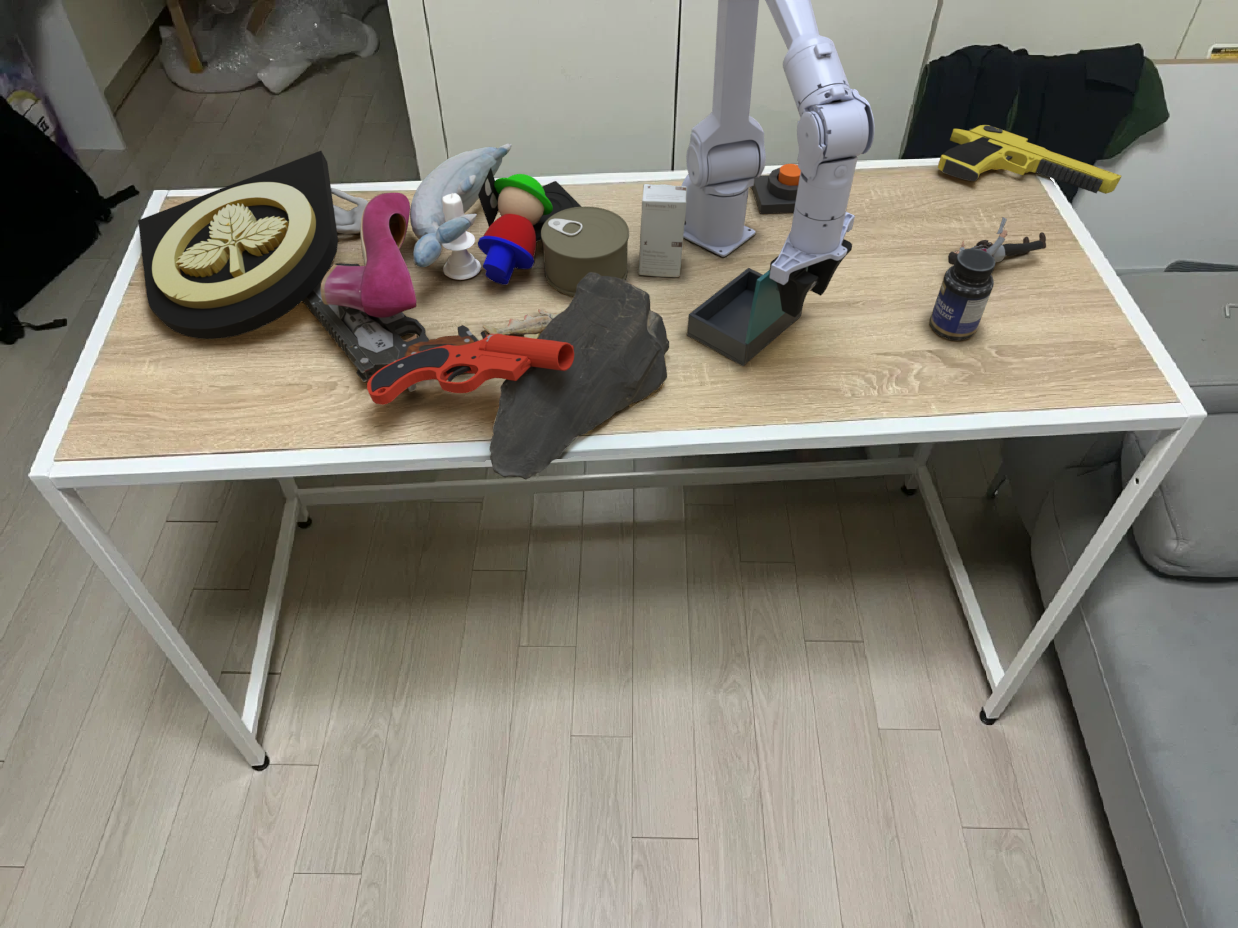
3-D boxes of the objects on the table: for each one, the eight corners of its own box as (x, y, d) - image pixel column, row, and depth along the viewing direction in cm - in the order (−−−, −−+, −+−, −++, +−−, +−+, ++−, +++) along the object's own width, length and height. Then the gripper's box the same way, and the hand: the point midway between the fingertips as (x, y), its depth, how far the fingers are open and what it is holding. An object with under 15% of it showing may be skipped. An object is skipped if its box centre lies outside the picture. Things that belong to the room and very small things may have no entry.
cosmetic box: (638, 276, 131) (639, 201, 122) (639, 257, 134) (641, 182, 125) (681, 278, 131) (686, 203, 122) (682, 259, 134) (687, 184, 125)
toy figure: (464, 276, 132) (501, 184, 135) (527, 297, 132) (563, 204, 135) (455, 249, 123) (495, 151, 126) (522, 271, 123) (560, 173, 126)
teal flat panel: (756, 279, 109) (782, 293, 107) (819, 229, 115) (844, 242, 114) (744, 342, 116) (768, 356, 115) (804, 292, 123) (827, 305, 121)
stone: (568, 286, 122) (431, 450, 108) (611, 247, 112) (465, 423, 98) (655, 368, 126) (533, 537, 112) (705, 338, 115) (576, 520, 101)
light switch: (496, 206, 136) (555, 179, 139) (501, 228, 140) (559, 202, 142) (528, 241, 131) (589, 213, 133) (533, 264, 134) (592, 236, 137)
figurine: (263, 247, 140) (392, 254, 139) (245, 235, 135) (380, 243, 133) (269, 183, 141) (398, 190, 139) (252, 169, 135) (386, 176, 134)
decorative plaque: (131, 354, 117) (128, 206, 134) (152, 374, 121) (146, 228, 137) (343, 274, 118) (313, 137, 134) (357, 297, 121) (327, 161, 138)
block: (760, 214, 142) (762, 194, 139) (750, 185, 147) (753, 165, 144) (825, 211, 142) (828, 190, 139) (813, 182, 147) (817, 162, 145)
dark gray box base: (686, 335, 123) (688, 314, 120) (745, 288, 130) (748, 267, 127) (743, 366, 119) (746, 345, 116) (801, 316, 126) (805, 295, 123)
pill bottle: (920, 317, 125) (941, 249, 117) (960, 308, 127) (984, 240, 118) (944, 346, 122) (967, 277, 113) (985, 337, 123) (1011, 268, 115)
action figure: (1055, 208, 129) (966, 222, 124) (1062, 257, 129) (974, 273, 125) (1008, 222, 137) (923, 236, 133) (1015, 269, 138) (931, 284, 134)
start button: (780, 187, 141) (782, 176, 140) (776, 174, 143) (777, 163, 142) (804, 186, 141) (806, 175, 140) (799, 173, 143) (800, 162, 142)
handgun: (1096, 209, 137) (1126, 167, 145) (930, 149, 147) (966, 112, 155) (1087, 229, 139) (1117, 186, 148) (924, 169, 149) (960, 132, 157)
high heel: (386, 177, 132) (470, 186, 131) (393, 234, 137) (474, 243, 136) (309, 258, 112) (408, 270, 111) (321, 321, 118) (415, 333, 116)
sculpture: (537, 212, 120) (525, 157, 141) (500, 165, 116) (494, 115, 137) (429, 291, 124) (433, 227, 144) (390, 248, 120) (400, 187, 140)
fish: (566, 300, 125) (577, 328, 122) (566, 309, 126) (577, 336, 124) (481, 320, 123) (490, 348, 120) (482, 328, 124) (492, 357, 122)
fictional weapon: (389, 261, 135) (290, 296, 128) (386, 239, 132) (285, 274, 126) (490, 367, 120) (384, 412, 113) (488, 345, 117) (379, 390, 111)
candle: (455, 253, 135) (443, 179, 126) (487, 262, 133) (478, 188, 124) (436, 274, 131) (422, 200, 122) (469, 284, 130) (458, 209, 121)
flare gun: (361, 406, 111) (440, 337, 119) (505, 435, 98) (582, 355, 107) (350, 385, 109) (431, 316, 118) (495, 411, 96) (574, 332, 105)
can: (605, 308, 127) (604, 267, 122) (528, 284, 130) (524, 242, 125) (642, 260, 134) (643, 219, 129) (568, 238, 137) (566, 197, 132)
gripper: (814, 249, 99) (796, 345, 109) (885, 192, 106) (861, 287, 117) (760, 223, 102) (747, 319, 113) (832, 170, 110) (814, 264, 120)
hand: (802, 302), depth 115 cm, fingers closed on teal flat panel, 5 cm apart
